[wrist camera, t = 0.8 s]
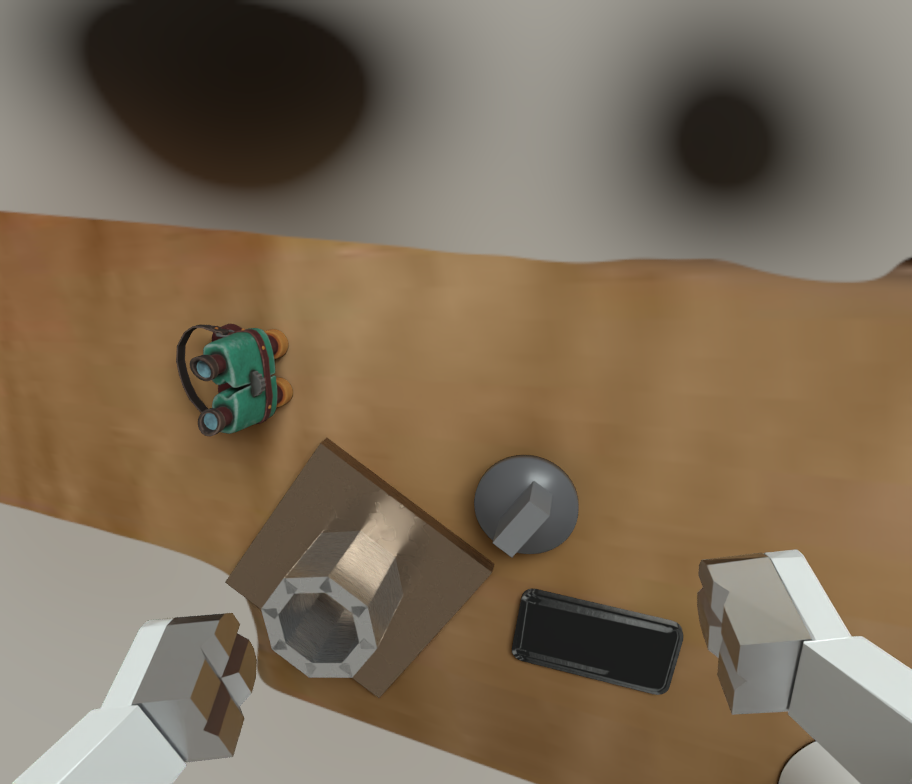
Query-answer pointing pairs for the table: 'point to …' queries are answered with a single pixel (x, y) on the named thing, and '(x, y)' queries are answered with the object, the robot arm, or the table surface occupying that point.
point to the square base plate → (354, 573)
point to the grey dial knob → (526, 504)
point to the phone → (597, 641)
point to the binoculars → (236, 376)
